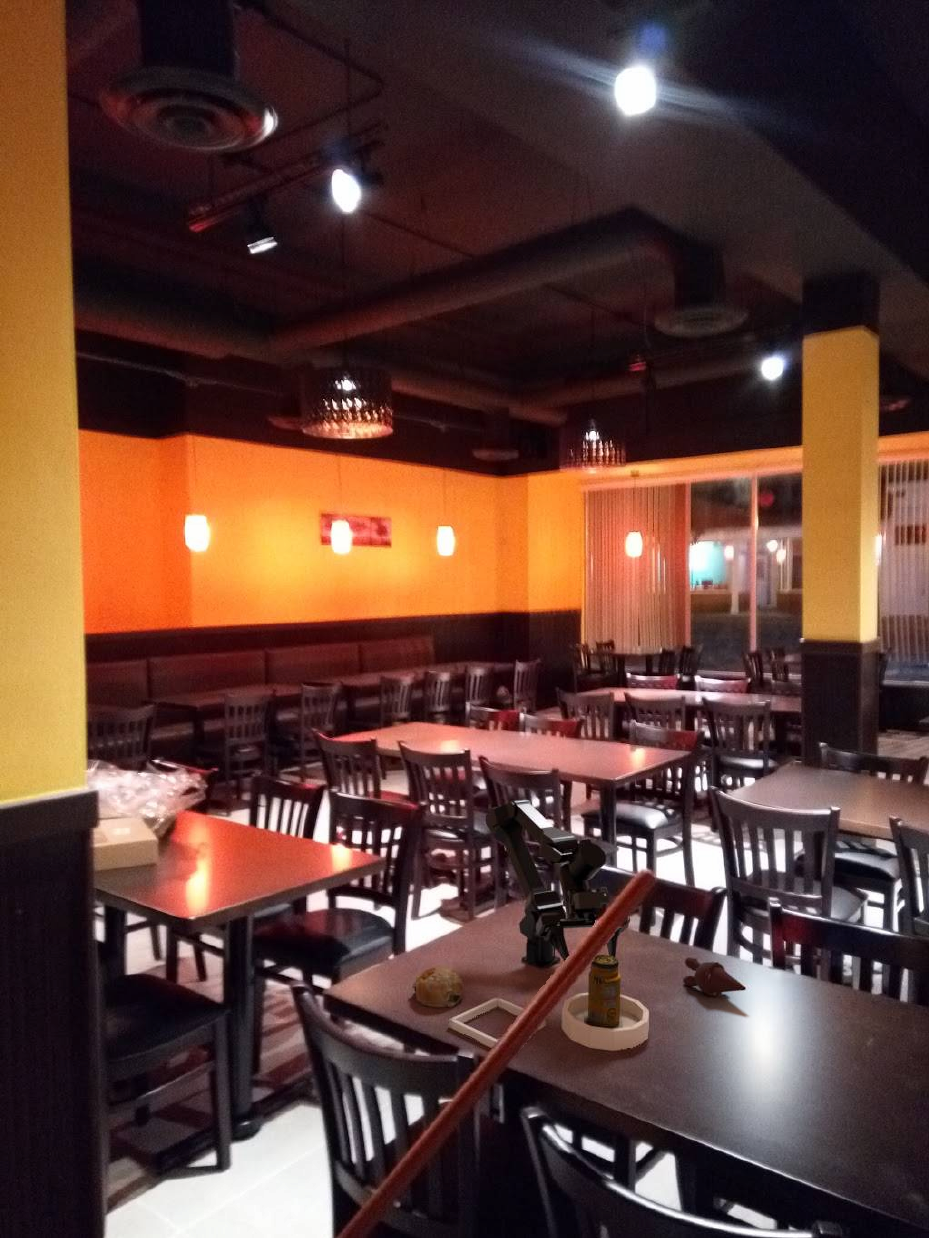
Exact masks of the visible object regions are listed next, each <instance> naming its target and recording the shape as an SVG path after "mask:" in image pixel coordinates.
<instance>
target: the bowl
mask: <svg viewBox="0 0 929 1238" xmlns="http://www.w3.org/2000/svg"><path fill="white" fill-rule="evenodd" d="M584 1011H588V992H582V993H577V994H575V995H574V996H573V995H572V996H571V997H569V998H568V999H565V1000H564V1003H563V1007H562V1008H561V1030H563V1032H564V1033H565V1035H566V1036H567V1037H568V1038H569V1039H570V1041H571V1040H572V1041H573V1042H575V1043H578V1044H580V1045H582V1046H585V1047H587V1048H590V1049H597V1050H604V1051H605V1050H606V1051H611V1052H612V1051H613V1052H614V1051H621V1049H622V1050H628V1049H627V1048H630V1049H634V1048H633V1047H635V1046H637V1045H638V1046H640V1045H641V1044H643V1043H644V1041H645V1040H646V1041H648V1040H647V1039H649V1030H650V1029H649V1028H650V1027H649V1026H650V1024H649V1023H650V1011H649V1009H648V1008H647V1007H646V1006H645V1005H643V1003H642V1002H641V1001H640V1000H638V999H635V998H632V997H630V996H627V995H624V994H621V993H620V1013H621V1016H622V1023H623V1028H615V1029H609V1028H601V1027H593V1026H590V1025H587V1024H585V1023H584ZM646 1041H645V1042H646ZM639 1044H640V1045H639ZM638 1046H637V1047H638ZM635 1048H636V1047H635Z"/></svg>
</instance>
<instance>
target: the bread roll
mask: <svg viewBox="0 0 929 1238" xmlns="http://www.w3.org/2000/svg"><path fill="white" fill-rule="evenodd" d="M411 988H412V990H413V989H414V991H415V992H414V996H415V998H416V1000H417V1002H419V1003H421V1005H424V1006H428V1007H432V1008H439V1009H440V1008H446V1007H447V1008H448V1007H449V1008H451V1007H454V1006H455V1005H456V1004H457V1003H459V1002H460V1001H461V1000H462V999H463V998H464V995H465V985H464V982H463V980H462V978H461V977H460V976H459V974H458V973H456V972H455V971H454V970H453V969H452V968H450V967H449V968H448V967H445V966H439V965H437V966H432V967H430V968H428V969H425V970H424V971H422V972H421V973H420V974H419V975H417V976H416V980H415V981H414V982H413V983H412V986H411Z"/></svg>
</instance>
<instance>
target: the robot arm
mask: <svg viewBox="0 0 929 1238" xmlns="http://www.w3.org/2000/svg"><path fill="white" fill-rule="evenodd" d="M485 824H486V826H487V828H488V829H489V832H490V833H491V835H492V836H493V838H494V839H495V840H497V841H498V842H500V843H501V844H502V845H503V846H504V848H505V851H506V853H507V856H508V858H509V860H510V861H509V862H511V865H512V867H513V870H514V872H515V874H516V877H517V879H518V881H519V884H520V887H521V888H522V891H523V893H524V895H525V898H526V899H525V904H524V911H523V912H524V915H525V916H524V917H523V918H522V919H521V920H520V922H519V924H518V927H519V932H520V934H521V935H523V936H524V937H526V944H525V945H526V947H525V948H526V949H525V950H526V951H525V952H526V954H525V955H524V956H522V957H521V961H523V962H526V963H529V964H531V965H533V966H537V967H539V968H542V969H545V968H546V967H548V966H551V965H553V964H556V963H557V962H560V961H561V959H562V960H563V961H564V962H565V960H566V958H567V957H568V956H570V953H569V949H568V945H567V942H566V939H565V929H577V928H579V929H580V928H593V927H592V926H593V925H594V923H595V920H596V919H597V918H598V917H599V916H596V915H597V914H598V913H599V911H600V909H602V908H603V905H606V904H609V903H610V901H611V900H610V899H611V898H610V893H609V890H608V887H607V886H601V887H597V888H596V891H593V890H592V888H590V887H589V882H588V881H589V880H590V881H591V879H593V878H594V877H595V875H597V873H598V872H599V871H600V870H601V869H602V867H604V865H605V864H606V862H607V855H606V852H605V850H603V849H602V847H601V846H599V845H597V844H596V843H592V840H591V838H590V837H589V838H583V839H581V840H578V839H577V838H576V837H575V836H574V835H573V834H571V833H570V832H568V831H567V830H564V829H561V828H557V827H555V826H553V824H552V823H551V822H549V820H547V819H546V817H544V816H543V814H542V813H540V811H538V810H537V809H536V808H535V807H534V806H533V804H532V802H531V800H529V799H527V798H526V799H525V798H524V799H516V800H510V801H509V802H507V803H506V804H504V805H501V806H498V807H497V806H496V807H491V808H489V810H488V812H487V813H486V814H485ZM524 830H525V831H526V832H528V834H529V835H530V836H531V837H532V838H533V839H534V840H535V841H536V842H537V844H538V845H539V853H540V854H541V855H542V857H543V859H544V860H545V861H546V863H547V864H549V865H552V866H553V865H561V864H563V865H562V866H560V867H559V868H558V871H557V872H556V873H555V875H554V880H555V881H559V883H560V889H561V892H562V898H563V901H561V898H560V895H559V892H557V890H549V889H547V888H546V886H545V883H544V881H543V879H542V876H541V875H540V872H539V871H538V868H537V865H536V863H535V861H534V858H533V856H532V854H531V852H530V850H529V847H528V844H527V843H526V840H525V838H524V836H523V833H524ZM630 922H631V918H629V920H628V921H627V922H626V924H625V925H624V926H623V927H621V928H619V929H618V930H617V931H616V932H615V935H614V936H613V937H612V938H611V939H610V940H609V942H608V943H607V944H606V947H607V952H608V955H609V956H612V957H615V958H616V955H617V944H618V938H619V936H620V935H621V933H624V932H625V931H626V929H627V927H628V926H629V924H630ZM556 952H557V953H558V954H559V955H560V957H559V956H557V955H556Z"/></svg>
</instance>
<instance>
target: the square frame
mask: <svg viewBox="0 0 929 1238" xmlns="http://www.w3.org/2000/svg"><path fill="white" fill-rule="evenodd" d="M496 1006H500V1007H502V1008H504V1009H505V1010H507V1011H508V1013H510V1014H512V1015H514V1016H517V1015H518V1014H519V1013H520V1012H521V1011H522V1010H523V1009H525V1008H523V1007H521V1006H518V1005H516V1004H514V1003H512V1002H509V1001H507V1000H505V999H502V998H500V997H497V996H496V997H494V998H492V999H490V1000H488V1001H486V1002H483V1003H481V1004H479V1005H477V1006H475V1007H473V1008H471V1009H468V1010H466V1011H464V1012H462V1013H460V1014H458V1015H455V1016H453V1017H452V1018H449V1019H448V1028H449V1029H452V1030H454V1031H456V1032H457V1033H460V1034H462V1035H464V1034H466V1035H468V1036H471V1037H472V1038H474V1039H476V1040H477V1041H476V1040H475V1041H476V1042H478V1041H479V1042H478V1043H480V1044H482V1045H484V1046H487V1047H488V1048H491V1049H492V1047H493V1046H494V1045H495V1044H497V1042H498V1040H499V1039H500V1038H499V1039H496V1038H495V1037H493V1036H490V1035H489V1034H486V1033H484V1032H482V1031H480V1030H477V1029H476V1028H475V1027H472V1026H470V1025H467V1024H466V1023H467V1022H469V1021H471V1020H472V1018H473V1019H475V1018H477V1017H478V1016H477V1015H480V1014H482V1015H484V1014H485V1012H486V1013H488V1012H490V1011H491V1010H490V1009H492V1008H494V1007H496ZM496 1008H497V1007H496ZM494 1009H495V1008H494ZM489 1010H490V1011H489ZM492 1010H493V1009H492ZM505 1010H504V1011H505ZM487 1011H488V1012H487ZM507 1011H506V1012H507ZM483 1013H484V1014H483ZM476 1016H477V1017H476ZM480 1016H481V1015H480ZM474 1017H475V1018H474ZM517 1017H518V1016H517ZM470 1019H471V1020H470ZM468 1020H469V1021H468ZM464 1022H465V1023H464ZM546 1022H547V1020H546V1021H545V1022H544V1024H542V1025H541V1027H540V1028H539V1029H538V1030H537V1031H539V1030H541V1029H542V1028H544V1027H546V1025H547V1023H546ZM466 1035H465V1036H466ZM468 1036H467V1037H468ZM472 1038H471V1039H472ZM474 1039H473V1040H474Z"/></svg>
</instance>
